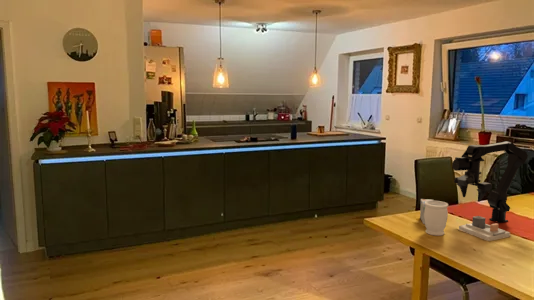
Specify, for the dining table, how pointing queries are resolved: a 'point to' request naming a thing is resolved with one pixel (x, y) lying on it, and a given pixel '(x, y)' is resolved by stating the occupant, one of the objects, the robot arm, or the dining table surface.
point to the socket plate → (483, 232)
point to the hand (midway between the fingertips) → (471, 199)
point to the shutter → (494, 229)
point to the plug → (479, 222)
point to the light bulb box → (423, 209)
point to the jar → (435, 217)
